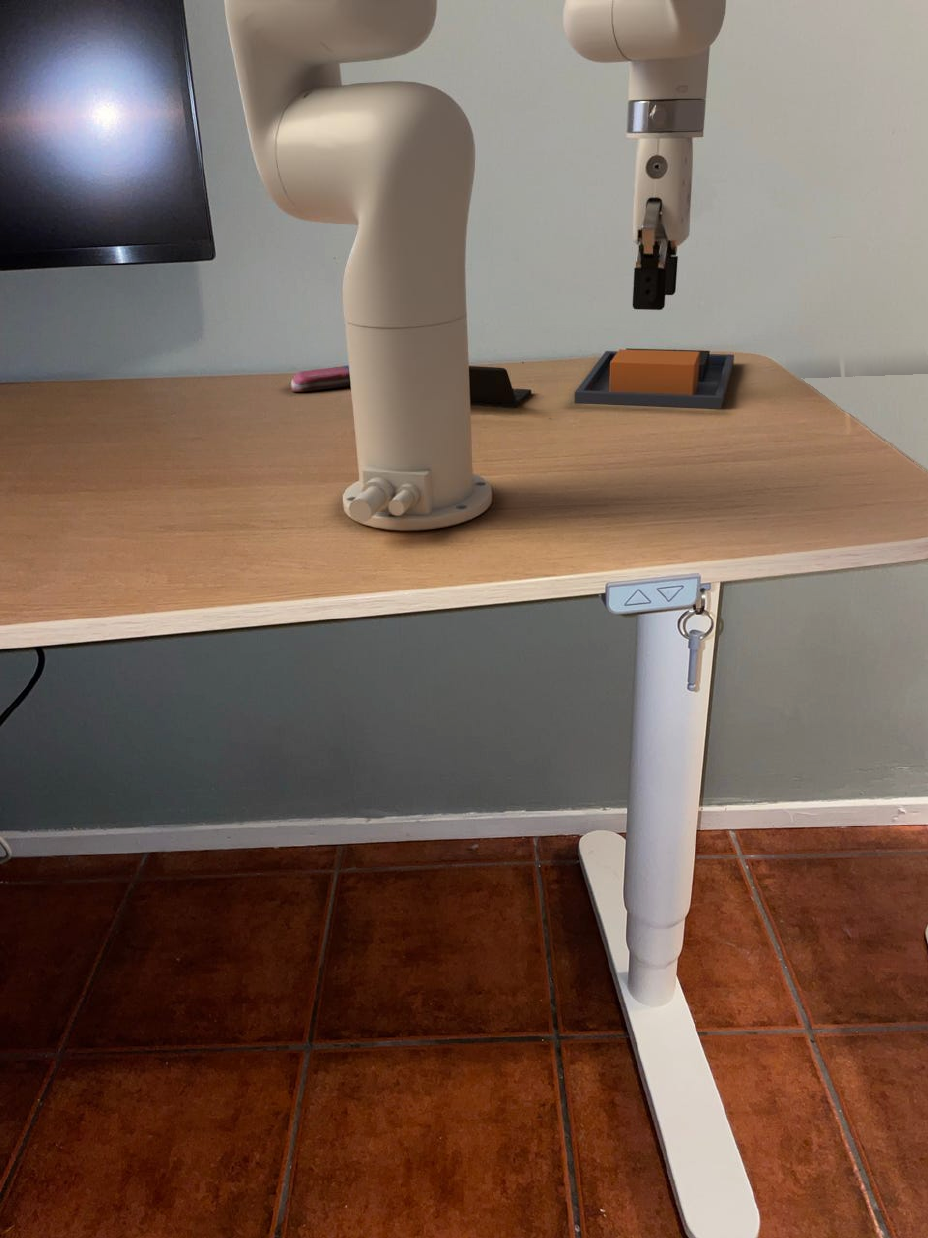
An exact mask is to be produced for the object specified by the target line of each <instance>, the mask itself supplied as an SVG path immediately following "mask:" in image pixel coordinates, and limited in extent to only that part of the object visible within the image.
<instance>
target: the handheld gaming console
mask: <svg viewBox="0 0 928 1238" xmlns="http://www.w3.org/2000/svg"><path fill="white" fill-rule="evenodd" d="M469 388H470V406H475V407H477V406H478V407H492V408H505V409H517V407H519V406H520V405H522V404H523V403H524V402H525V401H526V400H527V399H528V398H529V397H531V396H532V390H531V389H530V388H529V389H527V388H514V387H513V386H512V382H511V380H510V376H509V373H508V369H506V368H504V367H497V366H496V367H495V366H477V365H469Z"/></svg>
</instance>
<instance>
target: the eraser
mask: <svg viewBox="0 0 928 1238" xmlns="http://www.w3.org/2000/svg"><path fill="white" fill-rule="evenodd" d="M344 387H351V383H350V372H349V364H348V365H342V366H336V367H335V366H334V367H326V368H318V369H311V370H303V371H299V372H297V373H296V374H295V375H294V377H293V378H292V379H291V381H290V388H291V391H292V392H311V391H320V390H328V389H337V388H344Z"/></svg>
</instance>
